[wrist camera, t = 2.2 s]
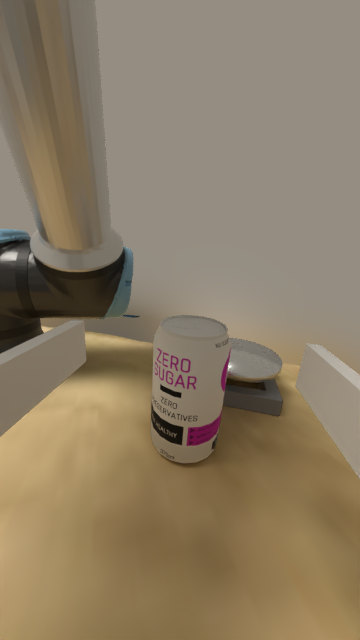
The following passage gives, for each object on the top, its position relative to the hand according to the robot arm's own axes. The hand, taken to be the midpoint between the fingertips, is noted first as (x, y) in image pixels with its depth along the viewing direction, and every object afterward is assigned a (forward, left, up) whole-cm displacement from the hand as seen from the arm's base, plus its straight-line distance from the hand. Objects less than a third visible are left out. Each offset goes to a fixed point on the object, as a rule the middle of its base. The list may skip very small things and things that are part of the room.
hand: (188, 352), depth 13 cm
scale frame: (+1, +25, -16) cm, 30 cm away
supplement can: (-3, +10, -17) cm, 19 cm away
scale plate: (+1, +25, -14) cm, 28 cm away
